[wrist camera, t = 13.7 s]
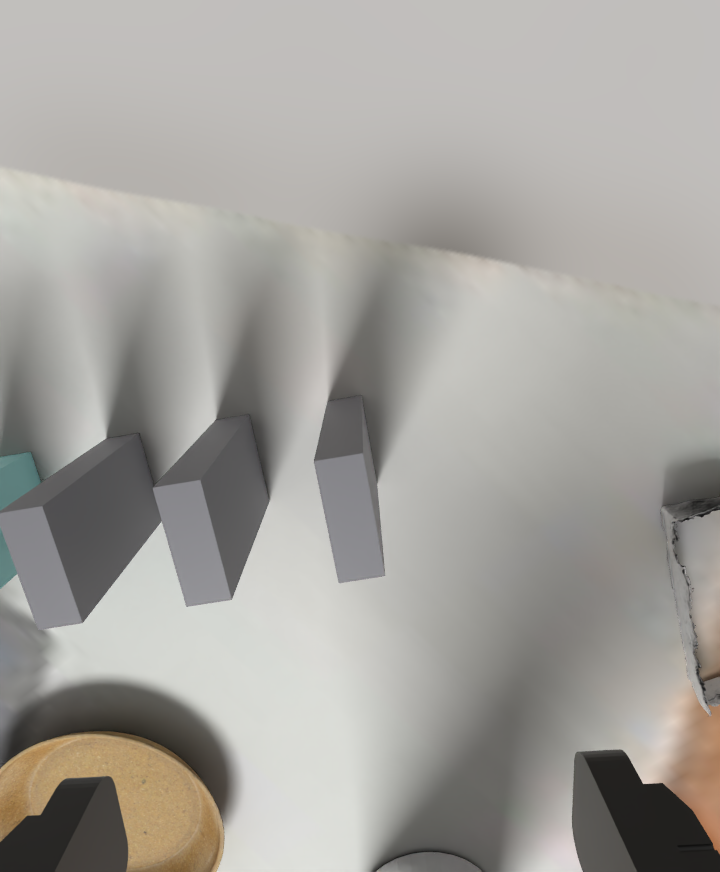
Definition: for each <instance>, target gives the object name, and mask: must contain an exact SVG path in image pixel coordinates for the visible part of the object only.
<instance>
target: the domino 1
mask: <svg viewBox="0 0 720 872" xmlns="http://www.w3.org/2000/svg"><path fill="white" fill-rule="evenodd" d="M40 483H41V481H40V478H39V475H38V472H37V469H36V466H35V463H34V460H33V457H32V454H31V452H27V453H21V454H15V455H9V456H3V457H0V510H2V509H3V508H5V507H6V506H8V505H9V504H11V503H12V502H14V501H15V500H17V499H18V498H20V497H21V496H23V495H24V494H25V493H27V492H28V491H30V490H31V489H33V488H34V487H36V486H37V485H39V484H40ZM16 574H17V571H16V568H15V566H14V563H13V560H12V557H11V555H10V552H9V549H8V547H7V544H6V541H5V538H4V536H3V533H2V530H1V528H0V589H1V588H2V587H3V586H4V585H5V584H6V583H7V582H8V581H10V580H11V579H12V578H13V577H14V576H15V575H16Z"/></svg>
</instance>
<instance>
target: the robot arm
mask: <svg viewBox="0 0 720 872" xmlns="http://www.w3.org/2000/svg"><path fill="white" fill-rule="evenodd" d="M572 828H573V836H574V842H575V846H576V851H577V855H578V858H579V862H580V865H581V867H582V870H583V872H720V855H719V853H718V851H717V850H714V848H713V843H712V842H711V840H710V838H709V837H708V835H707V833H706V832H705V830H704V828H703V827H702V825H701V824H700V822H699V820H698V819H697V817H696V815H695V814H694V812H693V811H692V810H691V809H690V808H689V807H688V806H687V805H686V804H685V803H684V802H683V801H682V800H680V799H679V798H678V797H677V796H676V795H675V794H674V793H673V792H672V791H671V790H670V789H668V788H667V787H666V786H665V785H664V784H663V783H657V784H643V783H642V781H641V779H640V778H639V776H638V774H637V772H636V770H635V768H634V767H633V765H632V763H631V761H630V759H629V758H628V756H627V755H626V753H625V752H624V751H623V750H603V751H585V752H577V753H576V755H575V760H574V783H573V807H572ZM127 864H128V840H127V836H126V831H125V827H124V822H123V818H122V814H121V809H120V805H119V800H118V796H117V792H116V787H115V783H114V781H113V779H112V778H111V777H110V776H100V777H82V778H66V779H64V780H63V781H61V782H60V784H59V785H58V786H57V788H56V789H55V791H54V793H53V794H52V796H51V798H50V800H49V801H48V803H47V805H46V806H45V808H44V810H43V812H42V813H41V815H31V816H26V817H25V818H24V819H23V820H22V821H21V822H20V823H19V824H18V825H17V826H16V827H15V828H14V829H13V830H12V831H11V832H10V833H9V834H8V835H7V836H6V837H5V838H4V839H3V840H2V841H1V842H0V872H126V870H127ZM376 872H482V871H481V870H480V869H479V868H478V867H477V866H475V865H474V864H472V863H470V862H469V861H467V860H465V859H462V858H460V857H457V856H455V855H451V854H445V853H440V852H421V853H414V854H409V855H406V856H402V857H399V858H396V859H394V860H392V861H391V862H389V863H387V864H385V865H383V866H382V867H381V868H380V869H378V870H377V871H376Z"/></svg>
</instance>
